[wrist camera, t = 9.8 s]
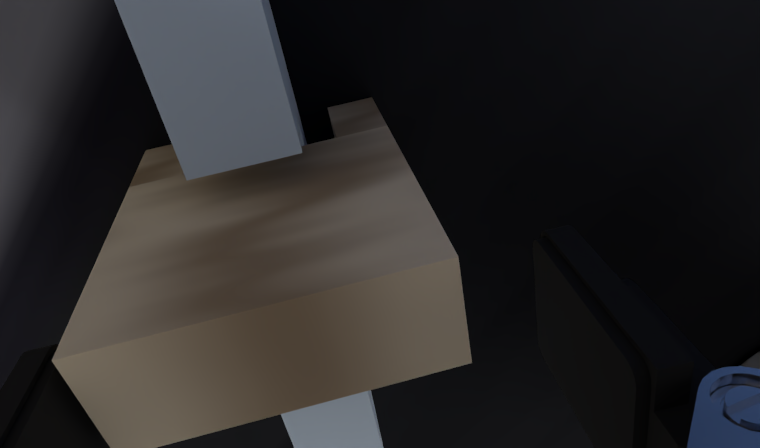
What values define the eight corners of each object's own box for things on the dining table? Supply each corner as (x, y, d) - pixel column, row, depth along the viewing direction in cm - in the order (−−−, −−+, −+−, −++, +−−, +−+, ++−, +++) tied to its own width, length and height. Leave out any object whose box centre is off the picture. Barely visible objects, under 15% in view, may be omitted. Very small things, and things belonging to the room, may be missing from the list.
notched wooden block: (371, 97, 17) (458, 256, 10) (386, 171, 19) (471, 362, 11) (145, 150, 17) (51, 360, 9) (176, 223, 18) (117, 458, 11)
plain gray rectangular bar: (362, 353, 23) (386, 460, 18) (299, 370, 23) (308, 481, 18) (216, -197, 13) (196, -239, 9) (105, -175, 13) (31, -207, 9)
